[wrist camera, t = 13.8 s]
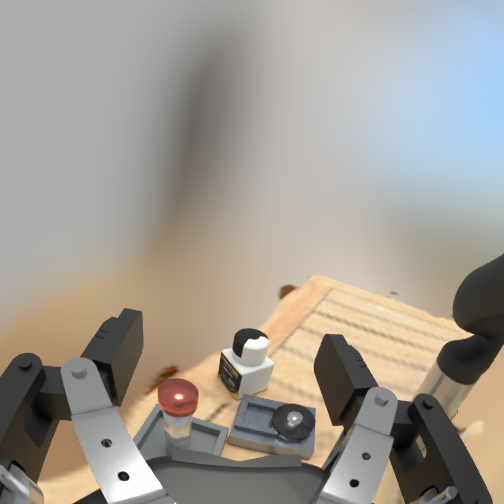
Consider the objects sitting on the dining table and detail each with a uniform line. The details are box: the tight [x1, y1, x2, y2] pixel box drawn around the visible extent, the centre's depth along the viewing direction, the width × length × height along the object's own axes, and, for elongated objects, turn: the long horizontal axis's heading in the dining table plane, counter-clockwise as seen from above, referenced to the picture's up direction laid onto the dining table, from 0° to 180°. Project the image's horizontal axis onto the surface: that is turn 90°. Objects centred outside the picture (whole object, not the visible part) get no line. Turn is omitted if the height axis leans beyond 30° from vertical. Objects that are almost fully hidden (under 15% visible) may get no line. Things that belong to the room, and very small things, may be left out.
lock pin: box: [158, 378, 198, 455], centre depth 29 cm, size 5×5×14 cm
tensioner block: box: [228, 394, 315, 459], centre depth 38 cm, size 13×10×5 cm
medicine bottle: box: [218, 328, 274, 400], centre depth 47 cm, size 7×7×12 cm
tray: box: [133, 404, 229, 461], centre depth 31 cm, size 12×12×2 cm
